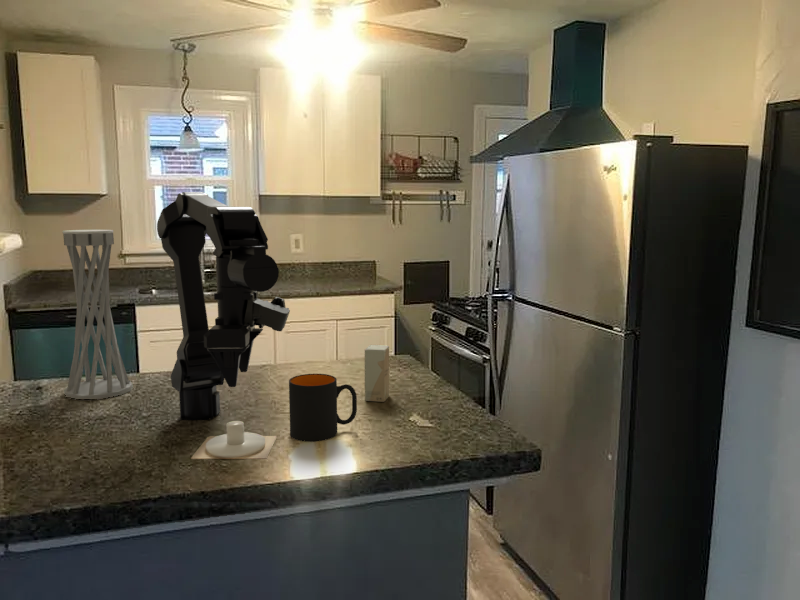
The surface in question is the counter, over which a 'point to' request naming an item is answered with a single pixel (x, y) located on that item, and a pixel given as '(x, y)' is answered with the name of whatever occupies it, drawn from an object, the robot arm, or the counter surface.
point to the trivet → (262, 454)
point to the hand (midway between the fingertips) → (238, 379)
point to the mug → (316, 407)
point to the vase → (107, 384)
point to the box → (376, 373)
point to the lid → (235, 442)
